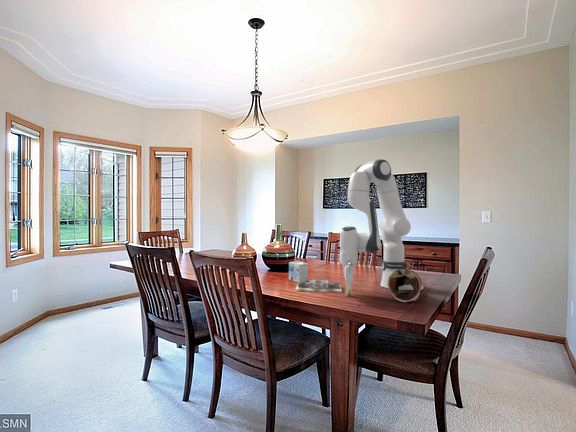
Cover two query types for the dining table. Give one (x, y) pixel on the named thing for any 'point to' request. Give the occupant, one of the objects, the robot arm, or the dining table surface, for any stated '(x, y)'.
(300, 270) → the light bulb box
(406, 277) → the clay pot
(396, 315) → the dining table surface
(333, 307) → the dining table surface
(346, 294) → the brass pin
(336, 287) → the chain ends board
